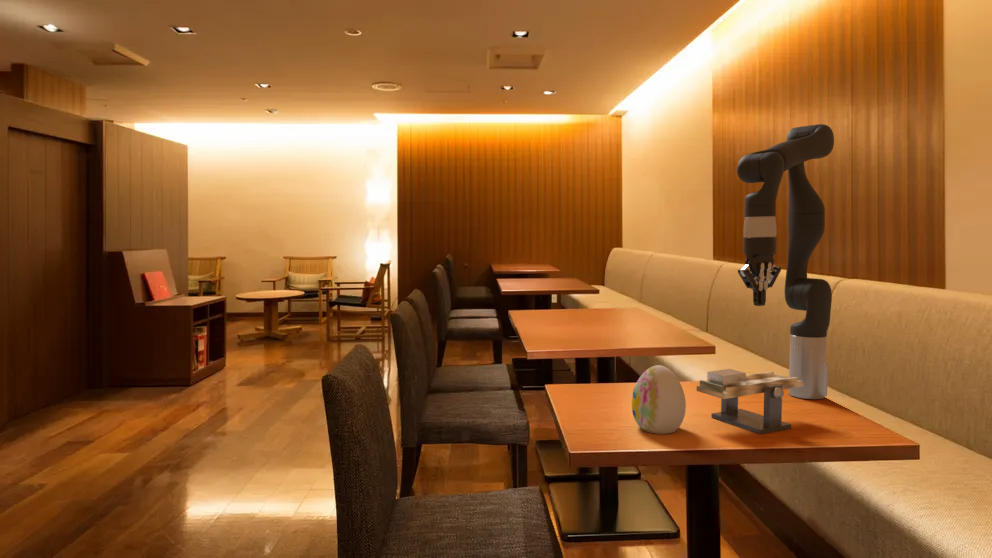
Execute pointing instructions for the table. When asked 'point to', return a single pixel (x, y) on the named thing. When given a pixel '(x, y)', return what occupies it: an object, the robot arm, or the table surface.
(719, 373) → the rider
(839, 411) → the table surface
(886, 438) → the table surface
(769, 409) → the stand
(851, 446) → the table surface
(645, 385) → the decorative egg
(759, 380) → the beam
